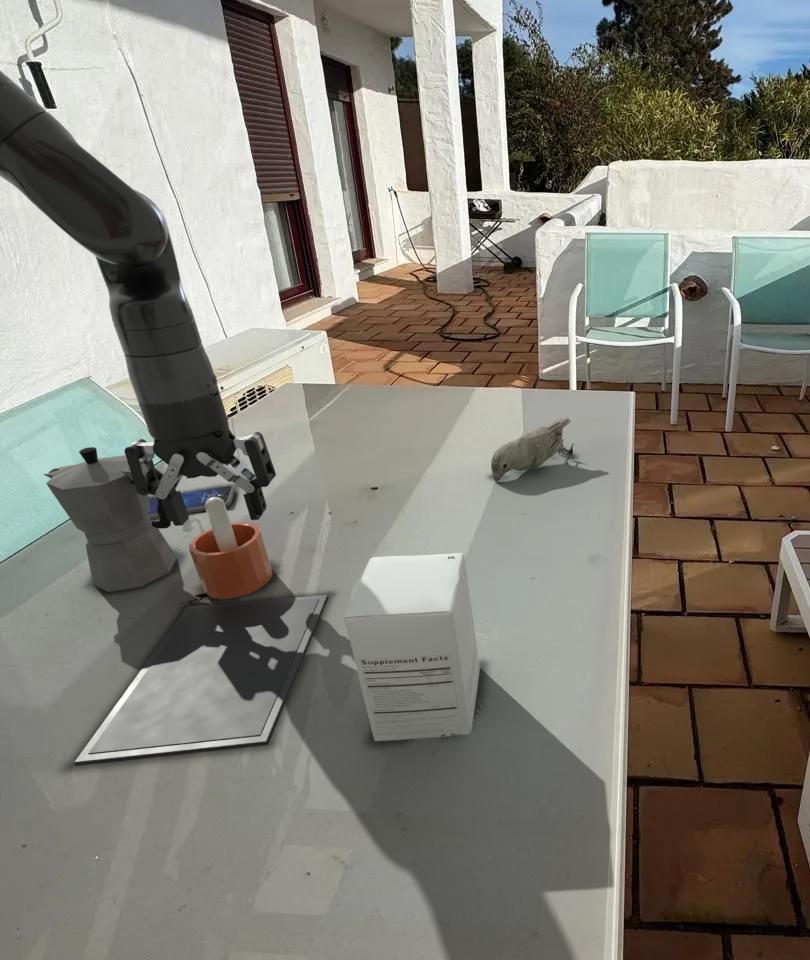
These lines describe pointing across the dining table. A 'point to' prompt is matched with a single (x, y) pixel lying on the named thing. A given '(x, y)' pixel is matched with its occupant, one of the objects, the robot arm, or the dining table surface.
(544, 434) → the decorative bird
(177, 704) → the tablet
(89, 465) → the coffeepot
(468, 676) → the rectangular carton
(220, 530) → the off-white long cylinder
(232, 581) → the pen pot
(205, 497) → the smartphone
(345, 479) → the dining table surface
